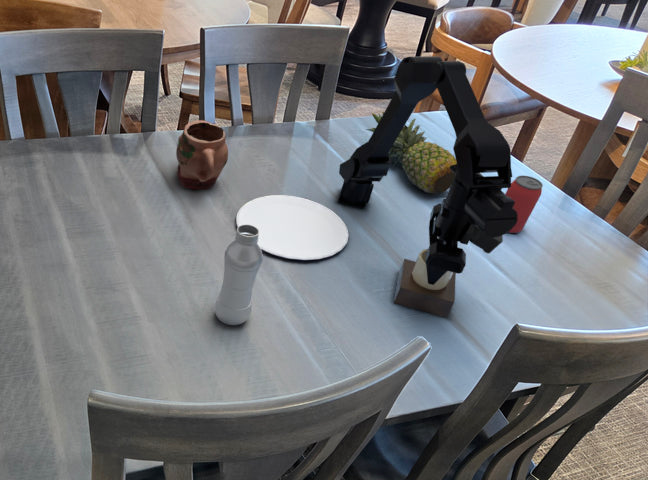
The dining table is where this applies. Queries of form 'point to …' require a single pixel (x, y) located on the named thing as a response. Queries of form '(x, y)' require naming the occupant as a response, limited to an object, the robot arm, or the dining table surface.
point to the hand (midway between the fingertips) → (431, 271)
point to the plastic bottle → (239, 276)
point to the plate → (294, 227)
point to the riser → (423, 293)
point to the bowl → (421, 274)
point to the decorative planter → (201, 154)
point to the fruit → (422, 159)
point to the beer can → (524, 198)
